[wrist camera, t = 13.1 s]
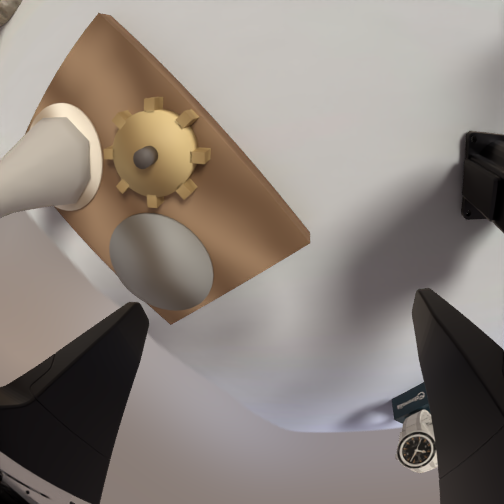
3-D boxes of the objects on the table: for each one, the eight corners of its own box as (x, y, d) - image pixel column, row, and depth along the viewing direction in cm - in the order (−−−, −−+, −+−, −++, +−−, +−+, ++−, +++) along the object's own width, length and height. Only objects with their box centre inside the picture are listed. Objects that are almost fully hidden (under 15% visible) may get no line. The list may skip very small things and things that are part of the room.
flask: (84, 215, 20) (-1, 291, 12) (29, 180, 20) (-54, 236, 11) (103, 132, 17) (-14, 187, 8) (41, 103, 16) (-64, 142, 7)
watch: (421, 374, 27) (437, 458, 18) (444, 393, 29) (458, 463, 20) (383, 395, 30) (390, 475, 21) (411, 410, 32) (418, 478, 23)
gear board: (110, 15, 13) (78, 9, 10) (309, 232, 20) (310, 261, 17) (26, 151, 20) (-1, 165, 17) (176, 313, 27) (162, 342, 24)
